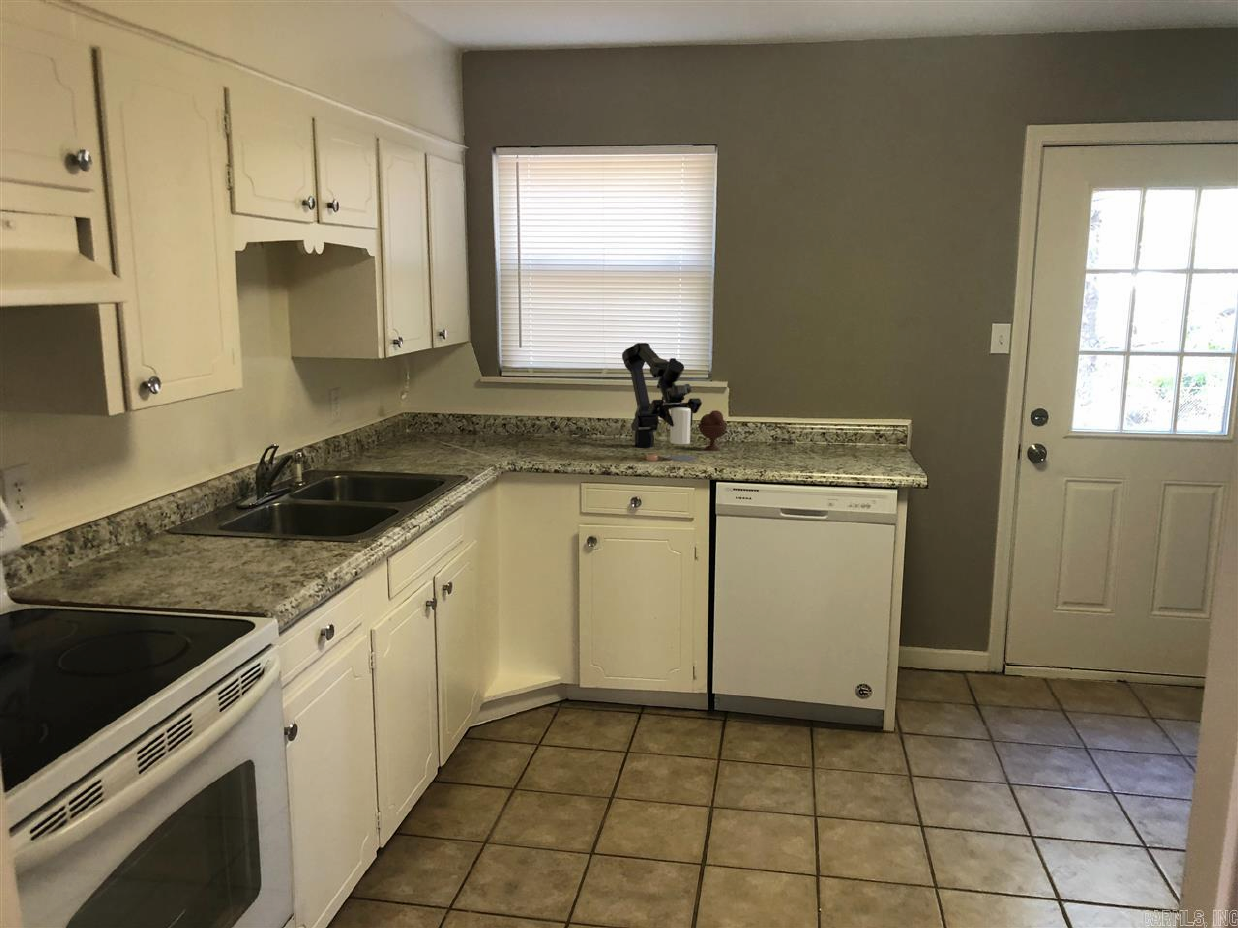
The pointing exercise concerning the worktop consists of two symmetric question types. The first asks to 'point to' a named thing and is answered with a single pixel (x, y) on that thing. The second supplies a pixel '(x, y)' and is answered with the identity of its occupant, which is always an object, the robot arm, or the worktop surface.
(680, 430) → the tumbler
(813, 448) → the worktop surface
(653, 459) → the pink rounded block
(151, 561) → the worktop surface
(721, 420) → the ice cream bowl
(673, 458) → the mat
